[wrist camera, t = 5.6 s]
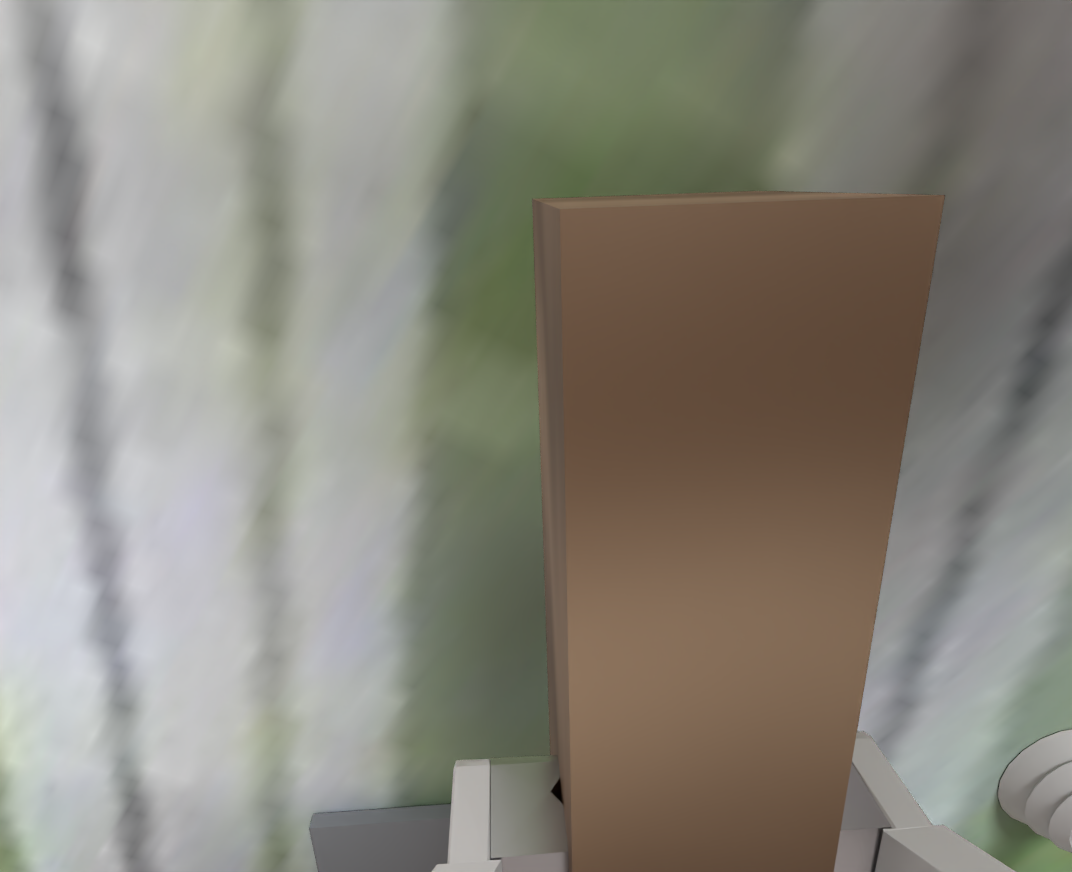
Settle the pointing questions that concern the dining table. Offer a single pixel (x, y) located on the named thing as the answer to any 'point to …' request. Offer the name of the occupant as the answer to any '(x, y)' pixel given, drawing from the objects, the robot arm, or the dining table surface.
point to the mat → (382, 839)
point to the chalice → (1042, 788)
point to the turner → (718, 509)
